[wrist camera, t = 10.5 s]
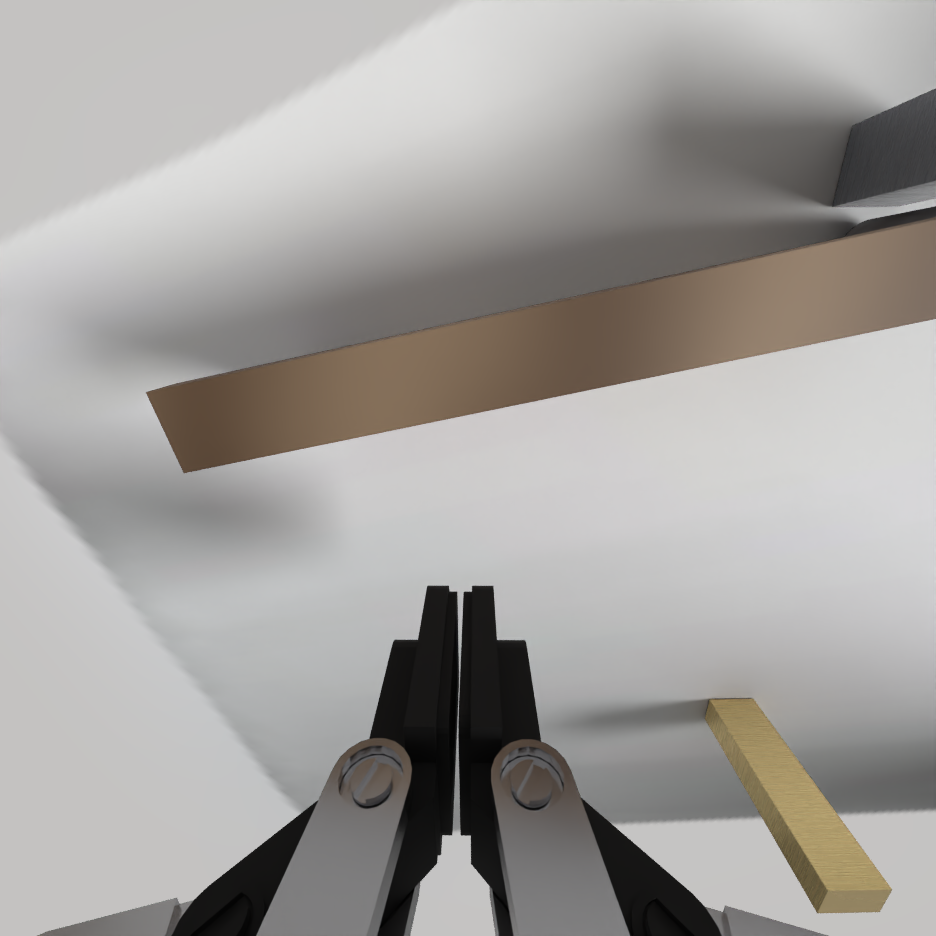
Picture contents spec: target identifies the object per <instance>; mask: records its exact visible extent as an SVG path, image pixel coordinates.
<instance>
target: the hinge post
mask: <svg viewBox="0 0 936 936" xmlns="http://www.w3.org/2000/svg"><path fill="white" fill-rule="evenodd" d="M935 198H936V89H934V90H931V91H929V92H927V93H925V94H922V95H920V96H918V97H916V98H914V99H911V100H909V101H907V102H905V103H902V104H900V105H898V106H896V107H893V108H891V109H889V110H887V111H884V112H882V113H880V114H878V115H876V116H873V117H871V118H869V119H867V120H864V121H862V122H860V123H858V124H855V125H853V126H852V130H851V134H850V138H849V142H848V146H847V150H846V154H845V158H844V162H843V166H842V170H841V174H840V178H839V182H838V186H837V190H836V194H835V198H834V202H833V206H832V207H867V206H902V205H907V204H912V203H916V202H921V201H926V200H930V199H935Z"/></svg>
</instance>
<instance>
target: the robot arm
mask: <svg viewBox="0 0 936 936" xmlns="http://www.w3.org/2000/svg"><path fill="white" fill-rule="evenodd" d="M458 692H459V656H458V605H457V592H449V586H427V591H426V597H425V602H424V608H423V614H422V620H421V626H420V632H419V638H418V640H394V642H393V645H392V648H391V652H390V657H389V661H388V665H387V669H386V673H385V677H384V681H383V685H382V689H381V693H380V698H379V702H378V706H377V710H376V714H375V718H374V722H373V726H372V730H371V734H370V739H368V740H365V741H361V742H359V743H358V744H356V745H354V746H353V747H351V748H349V749H348V750H347V751H346V752H345V753H344V754H343V755H342V756H341V757H340V758H339V760H338V761H337V763H336V765H335V766H334V768H333V770H332V772H331V774H330V776H329V778H328V781H327V783H326V785H325V787H324V789H323V791H322V794H321V796H320V798H319V800H318V801H316V802H315V803H314V804H313V805H311V806H310V807H309V808H308V809H306V810H305V811H304V812H302V813H301V814H300V815H299V816H298V817H296V818H295V819H294V820H292V821H291V822H290V823H289V824H287V825H286V826H285V827H283V828H282V829H281V830H279V831H278V832H277V833H276V834H274V835H273V836H272V837H271V838H269V839H268V840H267V841H265V842H264V843H263V844H262V845H260V846H259V847H258V848H257V849H255V850H254V851H253V852H251V853H250V854H249V855H248V856H247V857H245V858H244V859H243V860H241V861H240V862H239V863H237V864H236V865H235V866H234V867H233V868H231V869H230V870H229V871H227V872H226V873H225V874H223V875H222V876H221V877H220V878H218V879H217V880H216V881H215V882H213V883H212V884H211V885H209V886H208V887H207V888H206V889H205V890H204V891H203V892H202V893H201V894H200V895H199V896H198V897H197V898H196V899H195V900H194V901H190V902H186V903H182V904H179V902H178V899H177V898H174V899H170V900H166V901H163V902H159V903H155V904H151V905H147V906H143V907H140V908H136V909H132V910H128V911H124V912H120V913H116V914H113V915H109V916H105V917H101V918H97V919H94V920H90V921H86V922H82V923H79V924H74V925H71V926H67V927H63V928H59V929H55V930H51V931H48V932H45V933H43V934H40V935H38V936H410V933H411V929H412V924H413V919H414V914H415V910H416V905H417V901H418V896H419V888H420V881H421V880H422V879H423V878H424V877H425V876H426V875H427V874H428V873H429V871H430V870H431V869H432V868H433V867H434V866H435V865H436V864H437V856H438V855H441V845H442V835H452V830H453V808H454V785H455V762H456V739H457V716H458ZM459 778H460V825H461V835H471V864H472V865H473V867H474V868H475V869H476V870H477V871H478V873H479V874H480V875H481V876H482V877H483V879H484V880H485V881H486V882H487V884H488V885H489V886H490V900H491V907H492V914H493V921H494V927H495V934H496V936H827V935H824V934H820V933H817V932H814V931H810V930H807V929H803V928H800V927H796V926H793V925H789V924H786V923H783V922H779V921H776V920H772V919H769V918H765V917H762V916H758V915H755V914H752V913H748V912H745V911H741V910H738V909H735V908H731V907H728V906H725V908H724V911H723V912H721V911H717V910H714V909H711V908H707V907H704V906H703V905H702V903H701V902H700V901H699V900H698V899H697V898H696V897H695V896H694V895H693V894H692V893H691V892H690V891H689V890H687V889H686V888H685V887H684V886H683V885H682V884H681V883H679V882H678V881H677V880H676V879H675V878H674V877H672V876H671V875H670V874H669V873H668V872H667V871H665V870H664V869H663V868H662V867H660V865H658V864H657V863H656V862H655V861H654V860H653V859H651V858H650V857H649V856H648V855H647V854H646V853H645V852H643V851H642V850H641V849H640V848H639V847H638V846H636V845H635V844H634V843H633V842H632V841H631V840H629V839H628V838H627V837H626V836H625V835H624V834H622V833H621V832H620V831H619V830H618V829H617V828H616V827H614V826H613V825H612V824H611V823H610V822H609V821H607V820H606V819H605V818H604V817H603V816H602V815H600V814H599V813H598V812H597V811H596V810H595V809H593V808H592V807H591V806H590V805H589V804H588V803H586V802H585V801H584V800H583V799H582V798H581V797H580V794H579V792H578V789H577V786H576V783H575V780H574V778H573V775H572V772H571V770H570V768H569V766H568V764H567V762H566V760H565V759H564V758H563V757H562V756H561V755H560V753H559V752H558V751H557V750H556V749H554V748H552V747H551V746H549V745H548V744H546V743H543V742H541V738H540V732H539V725H538V718H537V712H536V705H535V698H534V692H533V685H532V679H531V672H530V665H529V659H528V652H527V646H526V642H525V640H497V636H496V620H495V605H494V589H493V586H472V592H464V598H463V623H462V648H461V672H460V697H459Z"/></svg>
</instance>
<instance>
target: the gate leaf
mask: <svg viewBox="0 0 936 936" xmlns="http://www.w3.org/2000/svg"><path fill="white" fill-rule="evenodd" d="M932 319H936V207H931V208H926V209H921V210H915V211H910V212H905V213H900V214H895V215H890V216H885V217H880V218H875V219H870V220H867V221H864V222H862V223H860V224H858V225H856V226H855V227H854V228H852V229H851V230H850V231H849V232H848V233H847V234H846V236H845V237H843V238H838V239H834V240H829V241H825V242H820V243H816V244H811V245H806V246H802V247H797V248H793V249H788V250H784V251H779V252H775V253H770V254H765V255H761V256H756V257H752V258H747V259H743V260H738V261H733V262H729V263H724V264H720V265H715V266H711V267H706V268H701V269H697V270H692V271H688V272H683V273H679V274H674V275H669V276H665V277H660V278H656V279H651V280H647V281H642V282H638V283H633V284H628V285H624V286H619V287H615V288H610V289H606V290H601V291H596V292H592V293H587V294H583V295H578V296H574V297H569V298H564V299H560V300H555V301H551V302H546V303H542V304H537V305H532V306H528V307H523V308H519V309H514V310H510V311H505V312H501V313H496V314H491V315H487V316H482V317H478V318H473V319H469V320H464V321H459V322H455V323H450V324H446V325H441V326H437V327H432V328H427V329H423V330H418V331H414V332H409V333H405V334H400V335H396V336H391V337H386V338H382V339H377V340H373V341H368V342H364V343H359V344H354V345H350V346H345V347H341V348H336V349H332V350H327V351H322V352H318V353H313V354H309V355H304V356H300V357H295V358H290V359H286V360H281V361H277V362H272V363H268V364H263V365H259V366H254V367H249V368H245V369H240V370H236V371H231V372H227V373H222V374H217V375H213V376H208V377H204V378H199V379H195V380H190V381H185V382H181V383H176V384H173V385H169V386H166V387H163V388H159V389H156V390H152V391H149V392H146V394H147V396H148V398H149V400H150V402H151V404H152V406H153V409H154V411H155V413H156V415H157V417H158V419H159V421H160V423H161V426H162V428H163V430H164V432H165V434H166V436H167V438H168V440H169V442H170V445H171V447H172V449H173V451H174V453H175V455H176V457H177V459H178V462H179V464H180V466H181V468H182V470H183V472H184V473H187V472H192V471H197V470H202V469H206V468H211V467H216V466H221V465H226V464H231V463H236V462H241V461H245V460H250V459H255V458H260V457H265V456H270V455H275V454H280V453H284V452H289V451H294V450H299V449H304V448H309V447H314V446H319V445H323V444H328V443H333V442H338V441H343V440H348V439H353V438H358V437H362V436H367V435H372V434H377V433H382V432H387V431H392V430H396V429H401V428H406V427H411V426H416V425H421V424H426V423H431V422H435V421H440V420H445V419H450V418H455V417H460V416H465V415H470V414H474V413H479V412H484V411H489V410H494V409H499V408H504V407H509V406H513V405H518V404H523V403H528V402H533V401H538V400H543V399H548V398H552V397H557V396H562V395H567V394H572V393H577V392H582V391H587V390H591V389H596V388H601V387H606V386H611V385H616V384H621V383H625V382H630V381H635V380H640V379H645V378H650V377H655V376H660V375H664V374H669V373H674V372H679V371H684V370H689V369H694V368H699V367H703V366H708V365H713V364H718V363H723V362H728V361H733V360H738V359H742V358H747V357H752V356H757V355H762V354H767V353H772V352H777V351H781V350H786V349H791V348H796V347H801V346H806V345H811V344H816V343H820V342H825V341H830V340H835V339H840V338H845V337H850V336H854V335H859V334H864V333H869V332H874V331H879V330H884V329H889V328H893V327H898V326H903V325H908V324H913V323H918V322H923V321H928V320H932Z"/></svg>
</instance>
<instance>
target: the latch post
mask: <svg viewBox="0 0 936 936" xmlns="http://www.w3.org/2000/svg"><path fill="white" fill-rule="evenodd" d="M705 720H706V721H707V723H708V725H709V727H710V728H711V730H712V732H713V734H714V735H715V737H716V739H717V740H718V742H719V744H720V746H721V747H722V749H723V751H724V753H725V754H726V756H727V758H728V759H729V761H730V763H731V765H732V766H733V768H734V770H735V772H736V773H737V775H738V777H739V779H740V780H741V782H742V784H743V785H744V787H745V789H746V791H747V792H748V794H749V796H750V798H751V799H752V801H753V803H754V804H755V806H756V808H757V810H758V811H759V813H760V815H761V817H762V818H763V820H764V822H765V823H766V825H767V827H768V829H769V830H770V832H771V834H772V835H773V837H774V839H775V841H776V843H777V844H778V846H779V848H780V849H781V851H782V853H783V854H784V856H785V858H786V860H787V862H788V863H789V865H790V867H791V868H792V870H793V872H794V874H795V875H796V877H797V879H798V881H799V882H800V884H801V886H802V887H803V889H804V891H805V892H806V894H807V896H808V898H809V900H810V901H811V903H812V905H813V907H814V908H815V910H816V912H817V913H854V912H880V910H881V908H882V907H883V905H884V903H885V901H886V900H887V898H888V896H889V894H890V893H891V891H892V889H891V887H890V886H889V885H888V883H887V882H886V881H885V879H884V878H883V877H882V875H881V874H880V872H879V871H878V870H877V869H876V867H875V865H874V864H873V863H872V861H871V860H870V859H869V857H868V856H867V855H866V853H865V852H864V851H863V849H862V848H861V846H860V845H859V844H858V842H857V841H856V839H855V838H854V837H853V835H852V834H851V833H850V831H849V830H848V828H847V827H846V826H845V824H844V823H843V822H842V820H841V819H840V817H839V816H838V815H837V813H836V812H835V811H834V809H833V808H832V806H831V805H830V804H829V802H828V801H827V800H826V798H825V797H824V795H823V794H822V793H821V791H820V790H819V789H818V787H817V786H816V784H815V783H814V782H813V780H812V779H811V778H810V776H809V775H808V773H807V772H806V771H805V769H804V768H803V767H802V765H801V764H800V762H799V761H798V760H797V758H796V757H795V756H794V754H793V753H792V751H791V750H790V749H789V747H788V746H787V745H786V743H785V742H784V740H783V739H782V738H781V736H780V735H779V734H778V732H777V731H776V729H775V728H774V727H773V725H772V724H771V723H770V721H769V720H768V718H767V717H766V716H765V714H764V713H763V712H762V710H761V709H760V708H759V706H758V705H757V703H756V702H755V701H754V699H710V700H709V704H708V708H707V712H706V716H705Z"/></svg>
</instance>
